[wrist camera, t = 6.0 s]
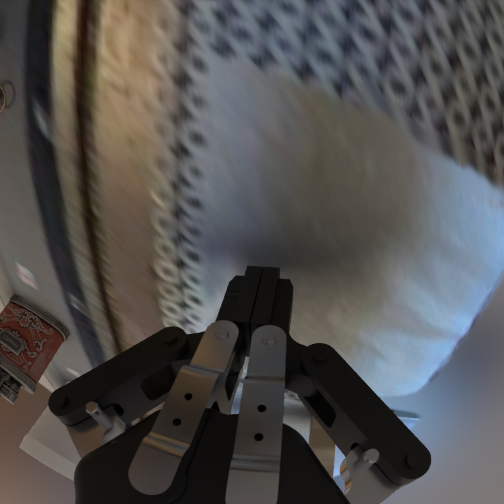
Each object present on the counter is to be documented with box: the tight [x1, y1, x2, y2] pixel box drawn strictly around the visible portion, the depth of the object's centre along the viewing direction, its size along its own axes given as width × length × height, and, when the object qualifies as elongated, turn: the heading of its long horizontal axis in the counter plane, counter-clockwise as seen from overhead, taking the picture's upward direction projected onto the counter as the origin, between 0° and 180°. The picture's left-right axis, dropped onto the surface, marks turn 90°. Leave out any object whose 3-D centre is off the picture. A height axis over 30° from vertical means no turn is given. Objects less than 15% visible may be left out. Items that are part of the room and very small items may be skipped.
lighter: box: [0, 294, 70, 404], centre depth 21 cm, size 8×3×10 cm, turn 72°
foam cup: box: [20, 381, 81, 481], centre depth 30 cm, size 10×9×13 cm
